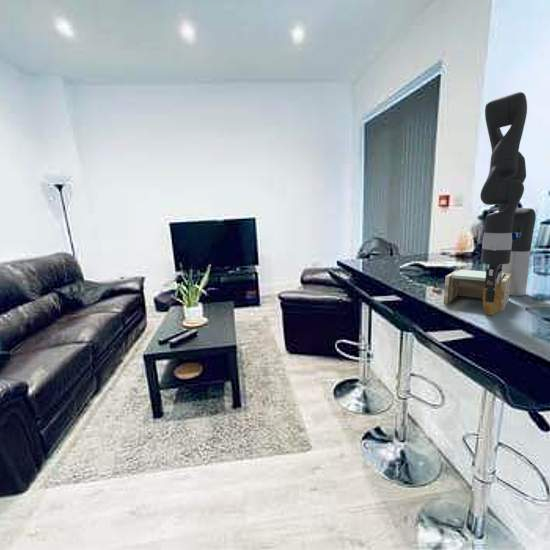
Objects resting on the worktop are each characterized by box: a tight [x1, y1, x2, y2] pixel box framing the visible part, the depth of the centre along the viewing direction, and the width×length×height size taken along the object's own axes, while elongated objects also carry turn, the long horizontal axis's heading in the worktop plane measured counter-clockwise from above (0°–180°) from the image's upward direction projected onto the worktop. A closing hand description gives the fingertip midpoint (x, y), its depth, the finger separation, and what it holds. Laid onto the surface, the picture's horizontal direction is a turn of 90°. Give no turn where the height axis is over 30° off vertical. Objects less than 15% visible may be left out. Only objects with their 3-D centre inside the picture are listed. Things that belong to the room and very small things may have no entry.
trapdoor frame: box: [443, 269, 511, 312], centre depth 121 cm, size 17×18×10 cm
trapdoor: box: [452, 269, 504, 281], centre depth 120 cm, size 15×14×1 cm
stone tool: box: [482, 279, 502, 316], centre depth 105 cm, size 5×2×15 cm, turn 52°
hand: (491, 299), depth 105 cm, fingers open, 8 cm apart
